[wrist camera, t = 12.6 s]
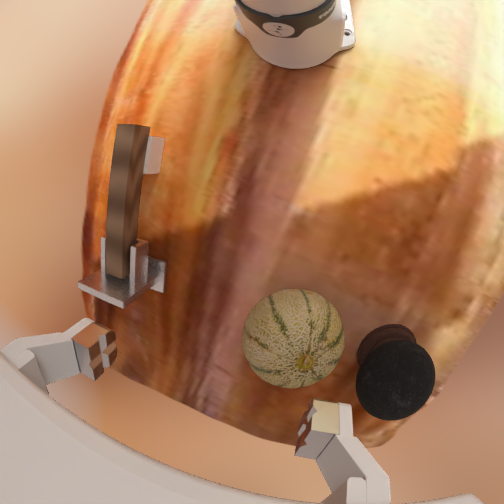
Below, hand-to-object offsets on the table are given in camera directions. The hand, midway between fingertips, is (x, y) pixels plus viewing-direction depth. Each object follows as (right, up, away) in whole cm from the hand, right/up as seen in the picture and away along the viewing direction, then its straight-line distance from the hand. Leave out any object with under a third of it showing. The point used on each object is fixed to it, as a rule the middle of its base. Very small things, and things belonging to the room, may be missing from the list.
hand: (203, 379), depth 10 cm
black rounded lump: (+26, -13, +34) cm, 45 cm away
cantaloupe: (+9, -6, +36) cm, 38 cm away
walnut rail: (-18, +13, +32) cm, 39 cm away
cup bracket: (-19, +4, +40) cm, 44 cm away
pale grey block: (-15, +21, +34) cm, 43 cm away
